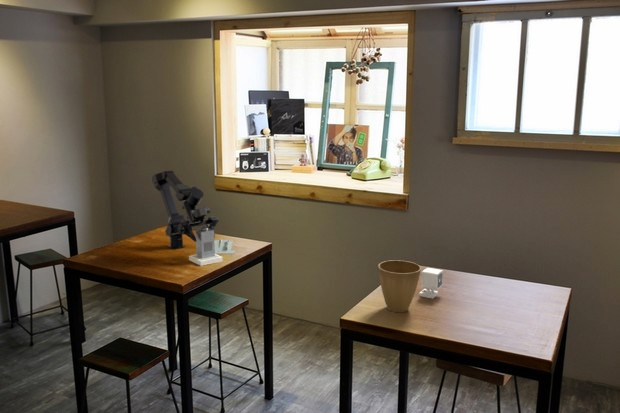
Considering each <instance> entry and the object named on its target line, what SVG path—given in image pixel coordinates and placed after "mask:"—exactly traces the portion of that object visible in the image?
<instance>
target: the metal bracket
mask: <svg viewBox="0 0 620 413" xmlns="http://www.w3.org/2000/svg"><path fill="white" fill-rule="evenodd" d="M220 239H221V240H220ZM220 239H219V240H218V239H214V244H215V254H217V255H235V254H236V253H235V252H236V251H235V250H232V248H233V247H232V246H233V241H234V240H233V239H223V238H222V237H221V238H220Z"/></svg>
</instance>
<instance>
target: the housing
mask: <svg viewBox="0 0 620 413" xmlns="http://www.w3.org/2000/svg"><path fill="white" fill-rule="evenodd" d="M214 233H215V229H214V230H212V229H209V228H208V227H207V226H205V227H201V228H200V229H196V230H195V237H196V240H197V241H196V242H195V247H196V254H197V257H200V258H202V259H203V258H208V257H213V256H215V244H214V240H215V238H214Z"/></svg>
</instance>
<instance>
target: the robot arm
mask: <svg viewBox="0 0 620 413" xmlns="http://www.w3.org/2000/svg"><path fill="white" fill-rule="evenodd" d="M151 182H152V184H153V185H154V188H155V189H156V190H157V191H159V192H160V196H161V198H162V202H163V204H164V207H165V210H166V212H167V216H168V219H167V227H166V228H165V230H164V231H165V236H167V237H169V245H167V247H168V248H169V249H173V250H177V249H181V248H185V247H186V245H184V244H183V243H184V239H183V235H185V236H187V237H188V238H189V239H191V241H193V242H194V243H196V241H197V240H196V234H195V232H193V228H194V227H201V226H205V227H208V228H209V229H212V230H214V231H215V227H216V226H217V224H218V223H219V222H220V219H219V218H218V216H216V215H213V216H212V215H211V216H209V217H208V218H207V220H205V219H206V216H208V215H209V214H211V209H210V207H209V206H204V207H203V208H199V207H198V205H199V204H200V203H201V201H202V199H203V198H204V191H202V190H201V189H199V188H197V186H192V187H190V186H189V185H186V184H184V183H183V182H182V181H181V180H180V179H179V178H178V176H177V175H176V174H175V172H174V170H163V171H161V172H159V173H154V174H153V175H152V177H151ZM170 187H171V188H172V189H173V190H174V192H175V195H174V196H175V197H176V199H177V201H178V202H183V203H182V206H181V209H182V210H184V211H185V213H186V215H187V216H186V219H187V220H185V217H184V215H183V214H179V212H178V209H177V207H176V203H175V200H174V197H173V193H172V192H171V188H170ZM215 236H216V235H215V232H214V239H215Z"/></svg>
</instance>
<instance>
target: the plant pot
mask: <svg viewBox="0 0 620 413" xmlns="http://www.w3.org/2000/svg"><path fill="white" fill-rule="evenodd" d="M377 268H378V275H379V282H380V288H381V292H382V297H383V299H384V302H385V305H386V308H387V310H389V311H390V312H393V313H405V312H407V311H409V308H410V307H411V304H412V301H413V299H414V297H415V294H416V290H417V286H418V284H419V283H418V282H419V280H420V277H421V276H420V275H421V272H422V271H421V270H422V267H421V266H420V265H419V264H417V263H415V262H412V261H406V260H398V259H396V260H395V259H393V260H385V261H382V262H380V263H378V267H377Z"/></svg>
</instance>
